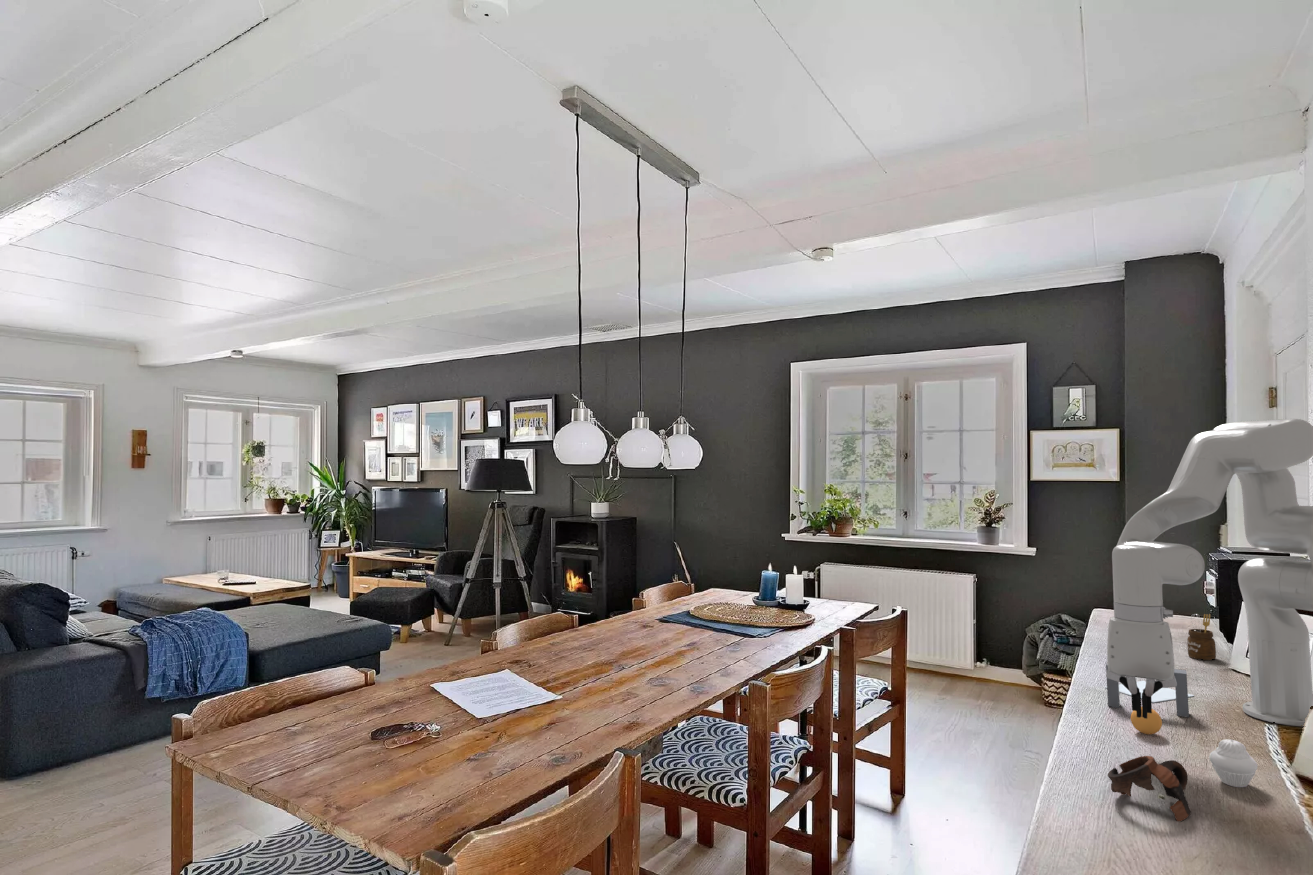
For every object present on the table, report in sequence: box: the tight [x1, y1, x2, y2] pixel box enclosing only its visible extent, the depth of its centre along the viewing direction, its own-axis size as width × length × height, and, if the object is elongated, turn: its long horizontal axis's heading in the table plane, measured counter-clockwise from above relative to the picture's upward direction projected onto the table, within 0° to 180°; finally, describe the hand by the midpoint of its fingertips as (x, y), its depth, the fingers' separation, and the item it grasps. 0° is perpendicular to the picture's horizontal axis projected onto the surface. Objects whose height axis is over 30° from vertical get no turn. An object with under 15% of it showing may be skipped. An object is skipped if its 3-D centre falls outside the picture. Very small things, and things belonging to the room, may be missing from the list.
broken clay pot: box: [1107, 755, 1192, 823], centre depth 112 cm, size 12×10×8 cm
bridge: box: [1105, 662, 1190, 718], centre depth 153 cm, size 3×14×9 cm, turn 56°
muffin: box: [1208, 738, 1258, 788], centre depth 118 cm, size 6×6×7 cm
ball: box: [1130, 706, 1163, 735], centre depth 140 cm, size 5×5×5 cm
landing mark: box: [1104, 680, 1195, 704], centre depth 165 cm, size 12×12×1 cm
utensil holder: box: [1186, 613, 1217, 661], centre depth 191 cm, size 6×6×12 cm
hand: (1142, 715), depth 132 cm, fingers closed
